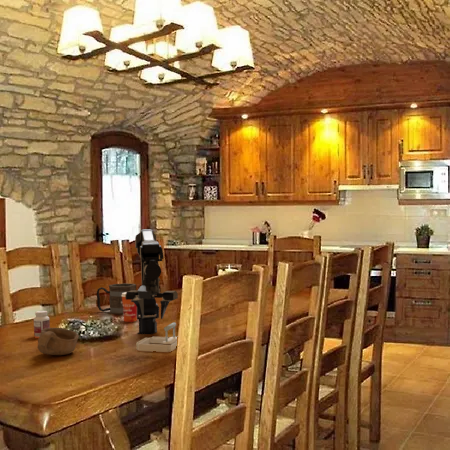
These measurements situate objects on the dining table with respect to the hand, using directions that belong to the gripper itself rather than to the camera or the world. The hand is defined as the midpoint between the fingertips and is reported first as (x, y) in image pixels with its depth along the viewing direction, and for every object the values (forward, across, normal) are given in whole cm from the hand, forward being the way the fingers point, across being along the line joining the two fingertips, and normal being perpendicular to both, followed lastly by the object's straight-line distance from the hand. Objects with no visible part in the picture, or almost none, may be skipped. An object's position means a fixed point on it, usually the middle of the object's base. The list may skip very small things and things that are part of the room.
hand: (152, 318), depth 242 cm
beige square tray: (+11, +3, 0) cm, 11 cm away
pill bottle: (+11, -51, +10) cm, 53 cm away
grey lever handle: (+8, +9, 0) cm, 12 cm away
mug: (+11, -43, +66) cm, 79 cm away
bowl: (+11, -29, -18) cm, 36 cm away
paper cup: (+11, -28, +47) cm, 55 cm away
